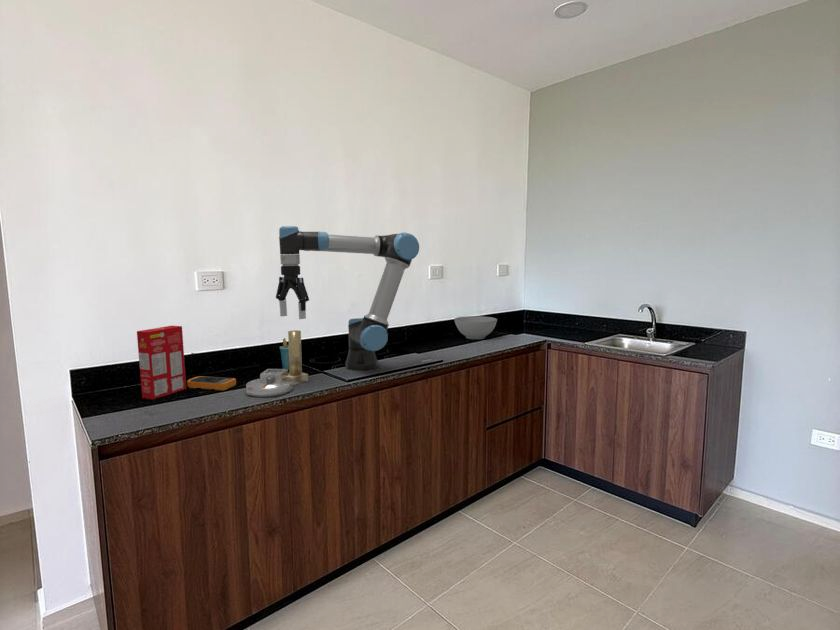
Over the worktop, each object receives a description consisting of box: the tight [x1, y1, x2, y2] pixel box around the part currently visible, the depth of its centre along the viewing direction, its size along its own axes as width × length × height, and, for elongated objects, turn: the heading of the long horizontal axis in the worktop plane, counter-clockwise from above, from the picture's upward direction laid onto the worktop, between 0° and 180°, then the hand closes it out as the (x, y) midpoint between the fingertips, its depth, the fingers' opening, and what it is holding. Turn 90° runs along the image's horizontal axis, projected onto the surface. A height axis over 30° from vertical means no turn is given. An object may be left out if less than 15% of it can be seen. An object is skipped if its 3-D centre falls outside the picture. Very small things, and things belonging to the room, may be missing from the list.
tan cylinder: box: [287, 329, 303, 376], centre depth 190 cm, size 5×5×18 cm
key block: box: [286, 372, 309, 386], centre depth 191 cm, size 8×8×3 cm
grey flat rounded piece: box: [245, 368, 294, 398], centre depth 178 cm, size 18×17×6 cm
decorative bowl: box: [453, 315, 498, 340], centre depth 291 cm, size 27×27×12 cm
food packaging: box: [136, 325, 187, 401], centre depth 173 cm, size 15×5×25 cm, turn 159°
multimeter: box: [186, 375, 237, 391], centre depth 184 cm, size 9×18×3 cm, turn 77°
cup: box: [279, 337, 289, 370], centre depth 210 cm, size 14×8×15 cm, turn 48°
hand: (292, 317), depth 188 cm, fingers open, 13 cm apart
